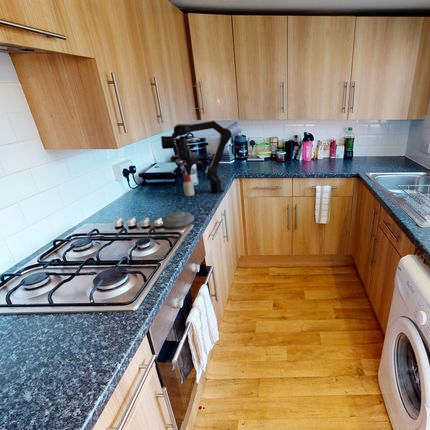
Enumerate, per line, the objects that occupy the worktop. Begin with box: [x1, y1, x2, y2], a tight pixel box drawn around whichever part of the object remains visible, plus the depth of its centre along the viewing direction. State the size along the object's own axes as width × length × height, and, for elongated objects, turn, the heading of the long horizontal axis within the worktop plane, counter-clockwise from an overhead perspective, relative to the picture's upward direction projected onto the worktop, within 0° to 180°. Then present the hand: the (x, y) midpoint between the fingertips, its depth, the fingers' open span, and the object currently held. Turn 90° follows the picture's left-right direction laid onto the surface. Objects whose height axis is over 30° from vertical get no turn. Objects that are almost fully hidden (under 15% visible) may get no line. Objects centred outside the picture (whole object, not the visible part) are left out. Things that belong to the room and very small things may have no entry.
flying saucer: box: [161, 210, 195, 229], centre depth 135 cm, size 15×15×6 cm
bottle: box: [182, 181, 196, 197], centre depth 170 cm, size 6×6×11 cm
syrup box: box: [184, 163, 200, 187], centre depth 187 cm, size 6×6×14 cm
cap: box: [182, 174, 191, 183], centre depth 168 cm, size 4×4×4 cm
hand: (186, 174), depth 167 cm, fingers open, 5 cm apart
